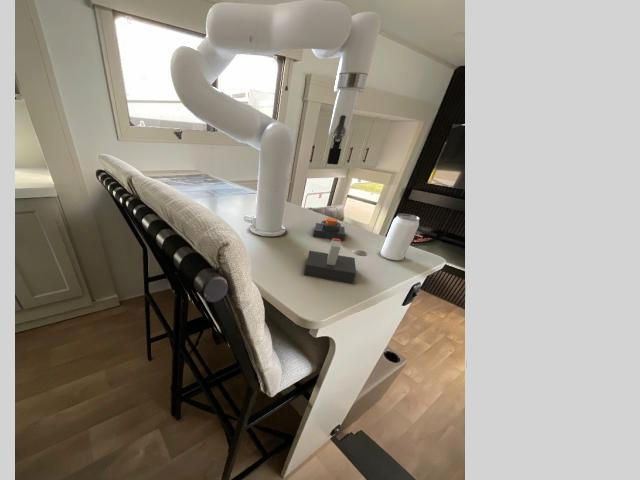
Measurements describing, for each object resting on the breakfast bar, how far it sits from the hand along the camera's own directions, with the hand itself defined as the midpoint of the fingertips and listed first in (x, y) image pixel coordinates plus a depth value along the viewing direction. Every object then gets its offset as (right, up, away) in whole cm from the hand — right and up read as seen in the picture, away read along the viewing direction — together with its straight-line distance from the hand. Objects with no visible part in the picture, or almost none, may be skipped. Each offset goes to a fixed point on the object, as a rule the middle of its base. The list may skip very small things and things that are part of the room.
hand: (332, 163), depth 76 cm
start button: (+3, -15, +11) cm, 19 cm away
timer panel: (-4, -34, -9) cm, 35 cm away
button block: (+3, -18, +13) cm, 22 cm away
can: (+18, -28, 0) cm, 34 cm away
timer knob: (-4, -31, -11) cm, 33 cm away
